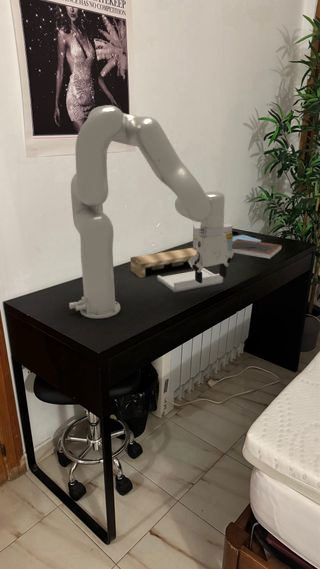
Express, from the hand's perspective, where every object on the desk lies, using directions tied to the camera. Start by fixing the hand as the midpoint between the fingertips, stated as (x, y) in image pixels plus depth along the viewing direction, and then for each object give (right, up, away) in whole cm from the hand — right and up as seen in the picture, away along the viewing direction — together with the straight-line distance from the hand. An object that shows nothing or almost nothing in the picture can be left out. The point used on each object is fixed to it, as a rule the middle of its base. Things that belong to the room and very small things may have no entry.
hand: (210, 279), depth 141 cm
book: (+25, +13, +49) cm, 57 cm away
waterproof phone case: (+24, +19, +64) cm, 71 cm away
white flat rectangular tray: (-6, -1, +13) cm, 14 cm away
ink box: (+2, +14, +49) cm, 51 cm away
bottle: (+10, +9, +37) cm, 39 cm away
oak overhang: (-13, +5, +26) cm, 30 cm away
